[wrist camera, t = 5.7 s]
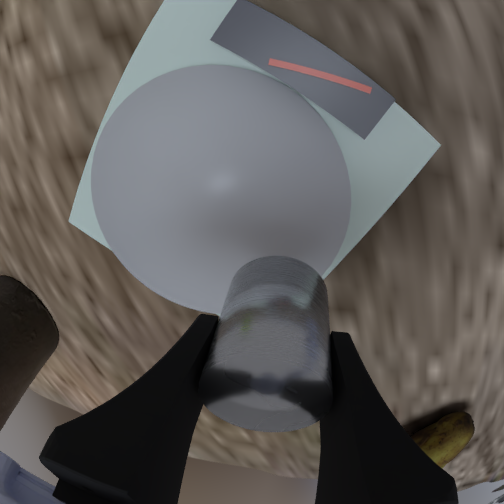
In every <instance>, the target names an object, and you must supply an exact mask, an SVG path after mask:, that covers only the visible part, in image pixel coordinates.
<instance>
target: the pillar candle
mask: <svg viewBox="0 0 504 504" xmlns="http://www.w3.org/2000/svg"><path fill="white" fill-rule="evenodd" d="M57 344H58V332H57V328H56V326H55V323H54V321H53V319H52V318H51V316H50V315H49V313H48V311H47V310H46V309H45V308H44V307H43V305H42V304H41V303H40V301H39V300H38V299H37V298H36V296H35V295H34V294H33V293H32V292H31V291H30V290H29V289H28V288H27V287H25V286H24V285H22V284H21V283H19V282H18V281H16V280H14V279H12V278H10V277H7V276H0V431H1V429H2V428H3V426H4V424H5V423H6V421H7V419H8V418H9V416H10V415H11V413H12V411H13V410H14V408H15V407H16V405H17V404H18V402H19V401H20V399H21V397H22V396H23V394H24V393H25V391H26V390H27V388H28V387H29V385H30V384H31V383H32V381H33V380H34V379H35V377H36V375H37V374H38V372H39V371H40V369H41V368H42V367H43V365H44V364H45V363H46V361H47V360H48V359H49V357H50V356H51V355H52V353H53V352H54V351H55V349H56V347H57Z"/></svg>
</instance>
